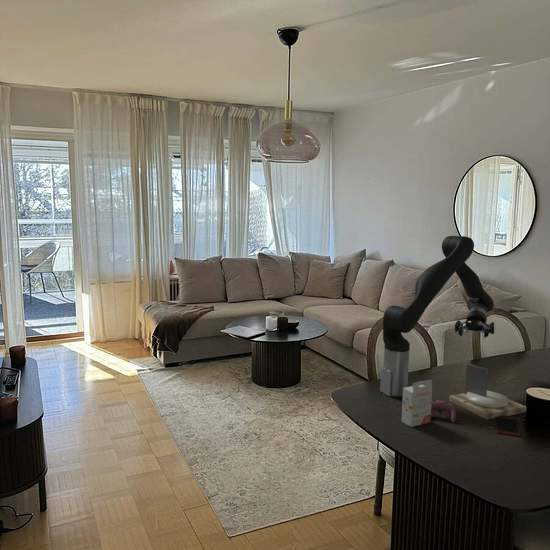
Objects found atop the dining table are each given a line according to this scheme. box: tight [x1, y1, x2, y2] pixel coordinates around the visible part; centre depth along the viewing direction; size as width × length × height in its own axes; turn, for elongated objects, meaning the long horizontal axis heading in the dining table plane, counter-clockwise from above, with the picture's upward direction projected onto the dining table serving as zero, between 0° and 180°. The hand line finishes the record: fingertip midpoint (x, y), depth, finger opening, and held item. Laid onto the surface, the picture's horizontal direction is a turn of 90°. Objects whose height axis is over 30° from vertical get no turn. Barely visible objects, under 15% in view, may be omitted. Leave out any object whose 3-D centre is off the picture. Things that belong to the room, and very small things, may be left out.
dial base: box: [448, 389, 527, 421], centre depth 184 cm, size 18×18×2 cm
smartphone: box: [493, 416, 522, 438], centre depth 168 cm, size 7×1×15 cm
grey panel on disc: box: [464, 363, 510, 408], centre depth 184 cm, size 15×14×11 cm
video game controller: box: [431, 399, 457, 424], centre depth 173 cm, size 10×5×7 cm, turn 71°
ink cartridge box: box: [401, 379, 433, 428], centre depth 169 cm, size 9×5×15 cm, turn 117°
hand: (472, 334), depth 194 cm, fingers open, 8 cm apart
